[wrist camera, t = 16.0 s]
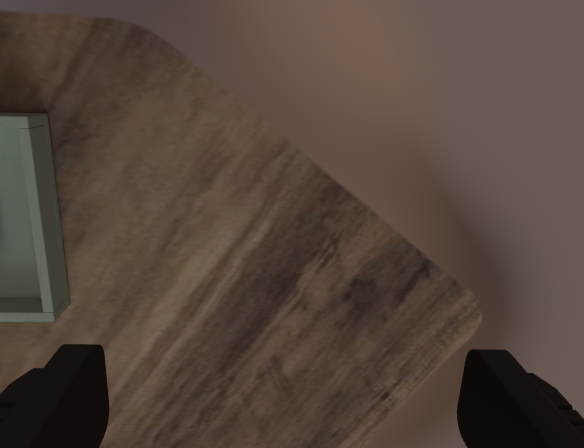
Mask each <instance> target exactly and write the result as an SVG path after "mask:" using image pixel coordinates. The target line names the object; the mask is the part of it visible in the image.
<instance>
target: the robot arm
mask: <svg viewBox="0 0 584 448" xmlns="http://www.w3.org/2000/svg"><path fill="white" fill-rule="evenodd" d="M108 418H109V397H108V387H107V376H106V366H105V355H104V350H103V347H102V346H101V345H86V344H64V345H62V346H61V347H60V348H59V349H58V350H57V352H56V353H55V354H54V355H53V357H52V358H51V359H50V361H49V362H48V363H47V364H46V366H45V367H44V368H33V369H32V370H30V371H29V372H27V373H26V374H24V375H23V376H21V377H20V378H18V379H17V380H15V381H14V382H12V383H10V384H9V385H8V387H7V388H6V389H5V390H4V391H3V392H2V394H1V395H0V448H99V446H100V444H101V442H102V440H103V437H104V435H105V432H106V429H107V424H108ZM457 420H458V426H459V430H460V433H461V436H462V438H463V440H464V442H465V444H466V446H467V448H584V419H583V418H582V416H581V415H580V414H579V413H578V412H577V411H576V410H573V409H572V406H571V404H569V402H568V401H567V400H566V399H565V398H564V397H563V396H562V395H561V394H560V392H559V391H558V390H557V389H556V388H554V387H553V386H551V385H550V384H548V383H547V382H545V381H544V380H542V379H541V378H539V377H538V376H536V375H535V374H533V373H527V372H526V371H525V370H524V369H523V367H522V366H521V365H520V364H519V363H518V362H517V360H516V359H515V358H514V357H513V356H512V355H511V354H510V353H509V352H508V351H507V350H482V349H480V350H479V349H477V350H476V349H474V350H473V349H472V350H470V351H469V352H468V354H467V356H466V361H465V366H464V372H463V378H462V384H461V389H460V395H459V401H458V406H457Z"/></svg>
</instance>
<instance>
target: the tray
mask: <svg viewBox="0 0 584 448" xmlns="http://www.w3.org/2000/svg"><path fill="white" fill-rule="evenodd" d="M69 305H70V297H69V289H68V281H67V272H66V264H65V256H64V248H63V239H62V231H61V223H60V214H59V206H58V198H57V189H56V181H55V173H54V164H53V156H52V148H51V140H50V131H49V123H48V115H47V114H46V113H7V112H0V322H55V320H56V319H57V318H58V317H59V316H60V315H61V314H62V313H63V311H64V310H65V309H66V308H67V307H68V306H69Z"/></svg>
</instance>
